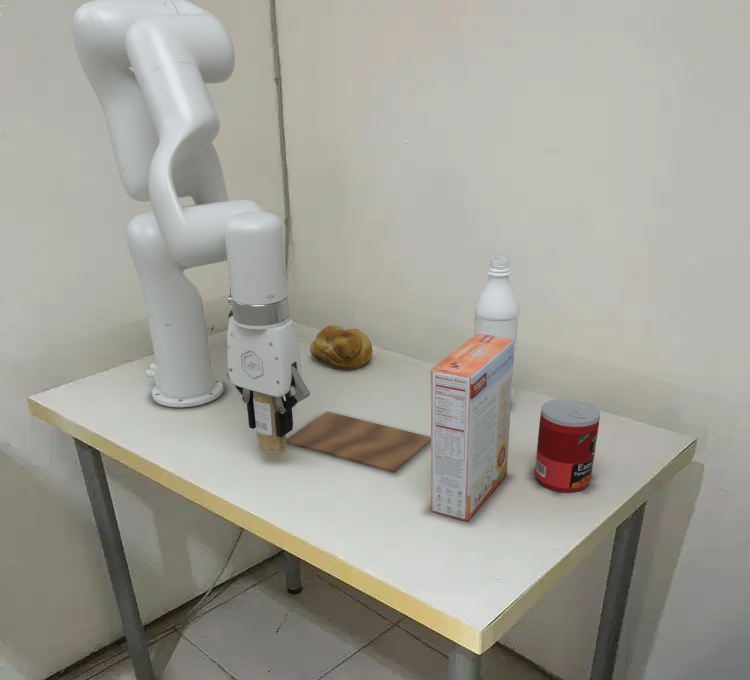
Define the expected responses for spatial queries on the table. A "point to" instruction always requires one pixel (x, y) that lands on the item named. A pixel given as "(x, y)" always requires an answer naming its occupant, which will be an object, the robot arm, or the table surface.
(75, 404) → the table surface
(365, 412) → the table surface
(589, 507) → the table surface
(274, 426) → the spice jar
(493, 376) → the cracker box
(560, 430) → the canned food
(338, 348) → the bread roll
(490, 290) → the water bottle
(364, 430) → the wooden board
